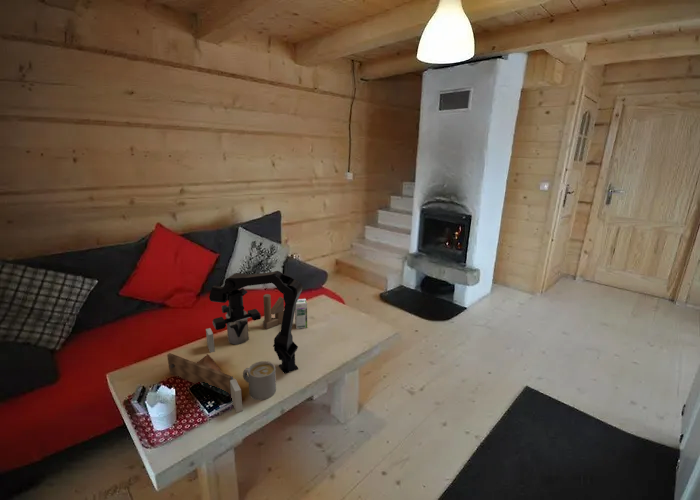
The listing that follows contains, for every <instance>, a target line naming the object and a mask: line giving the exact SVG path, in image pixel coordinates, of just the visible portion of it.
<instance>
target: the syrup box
mask: <svg viewBox="0 0 700 500" xmlns="http://www.w3.org/2000/svg"><path fill="white" fill-rule="evenodd" d="M294 322H295V323H294V324H295V327H296V329H297V330H298V329H304V328H305V329H307V328H308V301H307V299H306V298H298V300H297V303H296V307H295V313H294Z"/></svg>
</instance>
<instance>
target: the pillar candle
mask: <svg viewBox="0 0 700 500" xmlns="http://www.w3.org/2000/svg"><path fill="white" fill-rule="evenodd" d="M244 314H248V311H246V310H244ZM228 318H230V316H228V314H227V313H225V319H228ZM248 321H249V319H247V322H248ZM236 324H237V325H238V321H236ZM226 331H227V333H226V334H227V341H228V343H229V344H232V345H237V346H238V345H242V344H245V343H246V342H248V340H249V339H250V337H249V335H250V334H249V322H248V324H246V325H245V327H244V329H243V331H242V333H241V335H240V337H237V335H236V333H235V330H234V328H230V326H229V325H228V323H227V324H226Z"/></svg>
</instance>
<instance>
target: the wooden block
mask: <svg viewBox="0 0 700 500" xmlns="http://www.w3.org/2000/svg"><path fill="white" fill-rule="evenodd" d="M271 296H272V295H271V294H270V293H265V294H264V295H263V297H262V298H263V316H264V317H263V318H264V319H263V321H262V327H263V328H264V329H266V330H269V329H272V328H274V327H277V326H279V325H282V320H283V314H284V308H285V302H284V299H283V297H281V296H279V297H278V299H277V300H276V301H275V303H274V304H273V305H272V299H271V298H272V297H271ZM272 315H274V317H272Z"/></svg>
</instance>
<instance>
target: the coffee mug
mask: <svg viewBox="0 0 700 500" xmlns="http://www.w3.org/2000/svg"><path fill="white" fill-rule="evenodd" d="M242 377H243V380H244V381H245V382H246V383H248V389H249V396H250V398H252V399H253V400H256V401H264V400H267V399H270V398H271V397H273V396H274V395H275V394H276V391H277V384H276V383H277V381H276V379H277V378H276V366H275V364H274V363H273V362H271V361H266V360H261V361H257V362H254V363H253V364H251V365H250V367H245V368H244V369H243V370H242Z"/></svg>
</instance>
